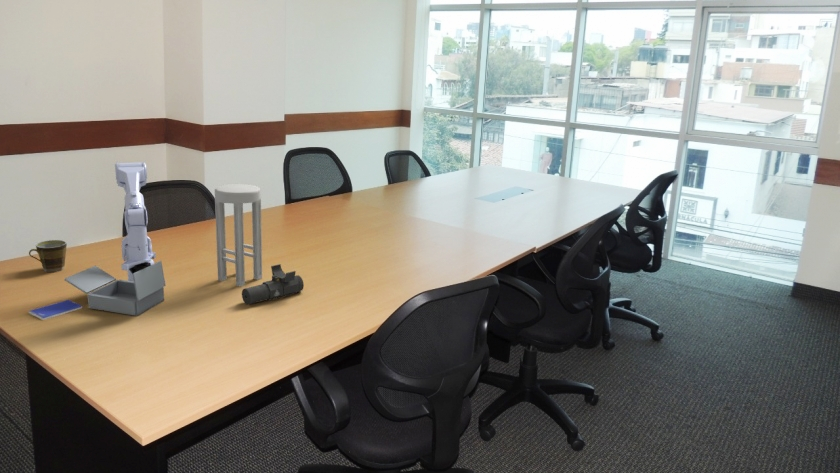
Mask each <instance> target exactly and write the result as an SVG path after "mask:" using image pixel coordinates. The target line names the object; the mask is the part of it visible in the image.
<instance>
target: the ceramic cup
mask: <svg viewBox="0 0 840 473" xmlns="http://www.w3.org/2000/svg"><path fill="white" fill-rule="evenodd" d="M33 251H34V252H36V253H37V254H38V256H39V259H38V258H37V257H36V256H33V255H32V254H31V253H32V252H33ZM66 254H67V241H65V240H63V239H62V240H60V239H52V240H51V239H49V240H44V241H40V242H37V243H36V244H35V248H31V249H30V250H29V251H28V255H29V256H30V257H31V258H33V259H35V260H37V261H38V262H39V263H41V266H42V270H43V271H44V272H46V273H56V272H61V271H62V270H64V269H65V267H66V266H65V264H66V256H67V255H66Z"/></svg>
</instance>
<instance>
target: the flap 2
mask: <svg viewBox="0 0 840 473" xmlns="http://www.w3.org/2000/svg"><path fill="white" fill-rule="evenodd" d="M132 275H133V280H134V286H135V291H136V297H137V300H140V299H142V298H144V297H146V296H148V295H150V294H152V293H153V292H155V291H157V290H159V289H161V288H165V287H166V286H167V285H166V279H165V274H164V267H163V262H162V260H159V261H157V262H154V264H152V265H151V266H148V267H146V268H144V269H142V270H139V271H137V272H135V273H133V274H132Z"/></svg>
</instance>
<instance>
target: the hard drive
mask: <svg viewBox="0 0 840 473" xmlns="http://www.w3.org/2000/svg"><path fill="white" fill-rule="evenodd" d="M77 309H78V310H80V309H83V307H82V305H81V304H79V303H77V302H74V301H72V300H70V299H66V300H63V301H60V302H56V303H52V304H48V305H45V306H40V307H38V308H33V309H31V310H28V314H30V315H31V316H34V317H36V318H38V319H40V320H42V321H45V320H48V319H52V318H54V317H57V316H61V315H64V314H67V313H71V312H74V311H77Z"/></svg>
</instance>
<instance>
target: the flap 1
mask: <svg viewBox="0 0 840 473" xmlns="http://www.w3.org/2000/svg"><path fill="white" fill-rule="evenodd" d="M116 280H117V278H116V277H114V276H113V275H112V274H110V273H108V272H106V271H104V270H103V269H102V268H100V267H99V266H97V265H94V266H90V267H88V268H86V269H84V270H81V271H79V272H76V273H74V274H71V275H69V276H67V277H64V281H65V282H67V283H68V284H70V285H71V286H73V287H75V288H76V289H78V290H80V291H81V292H83V293H84V294H86V295H88V293H91V292H93V291H95V290H97V289H99V288H101V287H103V286H105V285H108V284H110V283H112V282H114V281H116Z"/></svg>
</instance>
